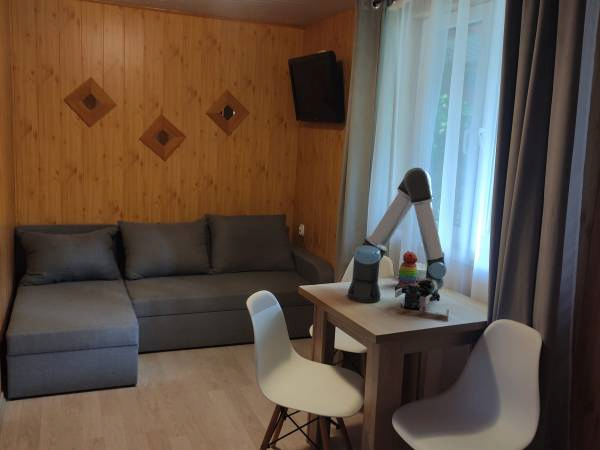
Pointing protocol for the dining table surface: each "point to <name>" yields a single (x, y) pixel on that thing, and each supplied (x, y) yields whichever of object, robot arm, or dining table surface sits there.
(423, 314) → the notch rail
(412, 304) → the supplement bottle
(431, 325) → the dining table surface
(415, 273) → the stacking bear
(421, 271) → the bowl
